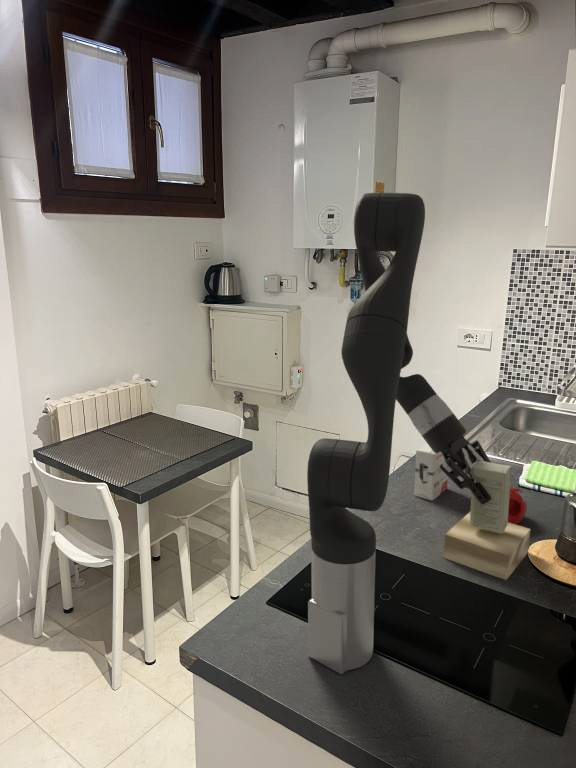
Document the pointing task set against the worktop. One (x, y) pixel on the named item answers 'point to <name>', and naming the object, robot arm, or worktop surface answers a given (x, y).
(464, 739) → the worktop surface
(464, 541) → the birch block
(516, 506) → the pomegranate
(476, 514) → the skincare box
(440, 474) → the ink box
